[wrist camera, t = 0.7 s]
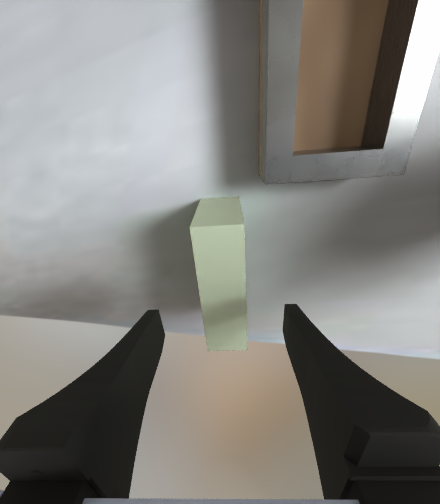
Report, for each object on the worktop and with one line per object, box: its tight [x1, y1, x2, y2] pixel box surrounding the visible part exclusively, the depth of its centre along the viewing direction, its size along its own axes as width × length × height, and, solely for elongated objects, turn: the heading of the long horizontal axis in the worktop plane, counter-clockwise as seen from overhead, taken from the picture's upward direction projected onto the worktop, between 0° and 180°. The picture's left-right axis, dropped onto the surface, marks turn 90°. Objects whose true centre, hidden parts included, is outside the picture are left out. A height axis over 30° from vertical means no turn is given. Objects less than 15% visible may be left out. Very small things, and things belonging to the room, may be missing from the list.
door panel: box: [190, 196, 248, 351], centre depth 18 cm, size 3×10×6 cm, turn 4°
